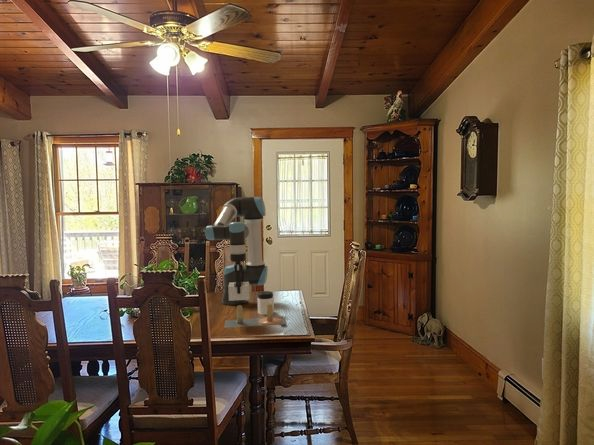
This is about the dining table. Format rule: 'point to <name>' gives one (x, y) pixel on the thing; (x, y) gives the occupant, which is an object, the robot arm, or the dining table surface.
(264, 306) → the jar
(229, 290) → the collar
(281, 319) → the post board
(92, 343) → the dining table surface
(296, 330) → the dining table surface
